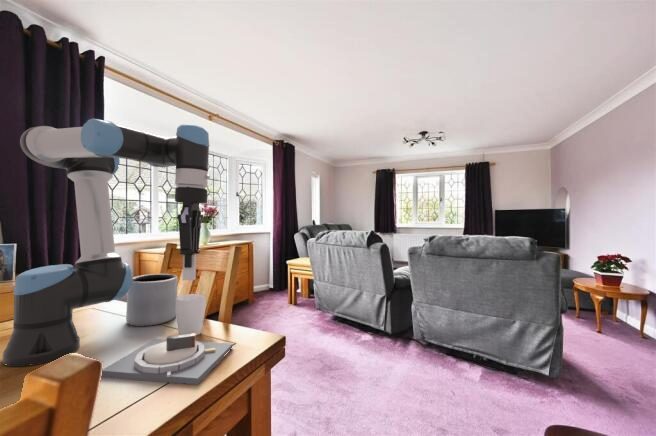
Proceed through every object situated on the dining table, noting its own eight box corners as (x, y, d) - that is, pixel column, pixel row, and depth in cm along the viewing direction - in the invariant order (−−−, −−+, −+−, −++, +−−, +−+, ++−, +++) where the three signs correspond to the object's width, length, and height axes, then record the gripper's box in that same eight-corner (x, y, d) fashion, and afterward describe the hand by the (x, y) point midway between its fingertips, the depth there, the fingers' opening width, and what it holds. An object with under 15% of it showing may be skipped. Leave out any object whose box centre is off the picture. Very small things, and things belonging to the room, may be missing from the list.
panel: (98, 378, 70) (99, 365, 70) (155, 343, 89) (155, 333, 89) (196, 386, 67) (196, 373, 67) (232, 348, 87) (232, 338, 87)
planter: (186, 315, 115) (187, 275, 115) (153, 330, 100) (154, 283, 100) (151, 311, 119) (152, 272, 119) (114, 325, 103) (115, 280, 103)
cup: (168, 338, 93) (169, 299, 93) (186, 327, 102) (187, 292, 102) (194, 340, 92) (195, 301, 92) (210, 330, 101) (211, 294, 101)
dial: (141, 372, 69) (141, 350, 69) (147, 351, 80) (148, 332, 80) (197, 362, 75) (197, 342, 75) (196, 344, 85) (196, 326, 85)
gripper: (200, 185, 70) (197, 285, 70) (212, 190, 83) (210, 274, 83) (166, 184, 69) (163, 285, 69) (184, 189, 82) (181, 274, 82)
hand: (189, 279), depth 76 cm, fingers closed
